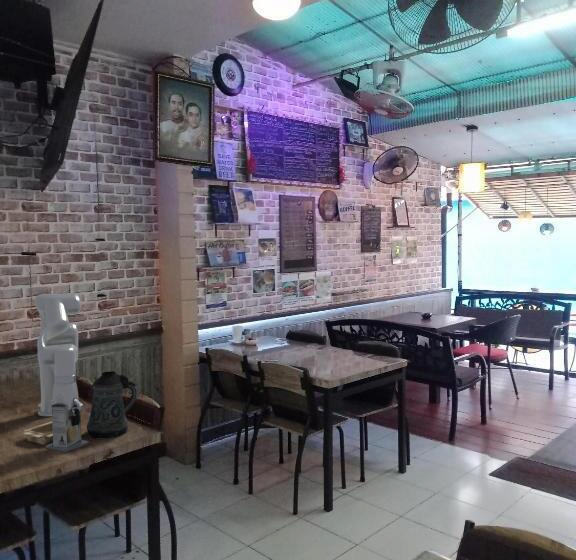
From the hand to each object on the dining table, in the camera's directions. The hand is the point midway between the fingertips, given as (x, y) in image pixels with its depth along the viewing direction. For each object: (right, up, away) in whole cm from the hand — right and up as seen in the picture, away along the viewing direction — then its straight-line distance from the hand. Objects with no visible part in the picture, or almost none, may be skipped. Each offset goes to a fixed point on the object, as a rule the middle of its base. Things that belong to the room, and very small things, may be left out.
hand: (66, 423), depth 216 cm
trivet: (0, -9, 0) cm, 9 cm away
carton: (-10, -8, +10) cm, 17 cm away
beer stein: (+12, -8, +17) cm, 22 cm away
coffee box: (0, -8, 0) cm, 8 cm away
